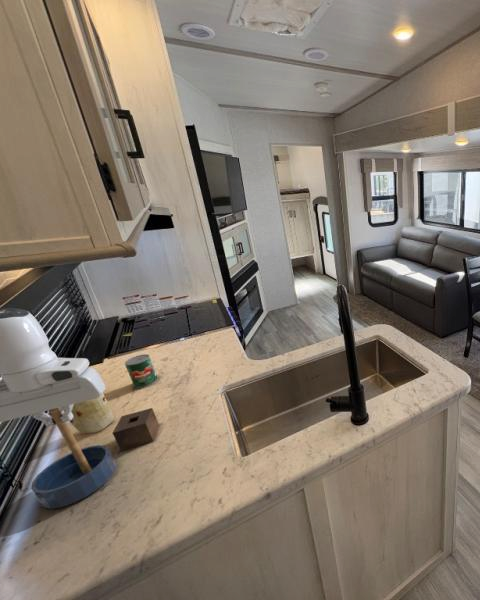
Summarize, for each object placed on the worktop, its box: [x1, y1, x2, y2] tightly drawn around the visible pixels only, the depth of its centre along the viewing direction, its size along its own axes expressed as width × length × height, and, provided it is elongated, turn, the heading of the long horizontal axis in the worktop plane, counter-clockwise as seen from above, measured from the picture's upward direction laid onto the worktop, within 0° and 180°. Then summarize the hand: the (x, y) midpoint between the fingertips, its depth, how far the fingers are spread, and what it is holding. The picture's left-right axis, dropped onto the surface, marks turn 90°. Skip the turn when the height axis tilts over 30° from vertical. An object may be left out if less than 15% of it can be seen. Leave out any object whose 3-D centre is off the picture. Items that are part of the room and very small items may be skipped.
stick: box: [48, 408, 92, 475], centre depth 79 cm, size 2×2×22 cm
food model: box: [62, 392, 115, 434], centre depth 99 cm, size 10×7×20 cm
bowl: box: [30, 444, 117, 510], centre depth 81 cm, size 14×14×6 cm
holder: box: [112, 407, 160, 452], centre depth 96 cm, size 8×8×7 cm
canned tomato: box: [124, 353, 159, 389], centre depth 125 cm, size 8×8×11 cm
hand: (60, 421), depth 76 cm, fingers closed on stick, 1 cm apart
